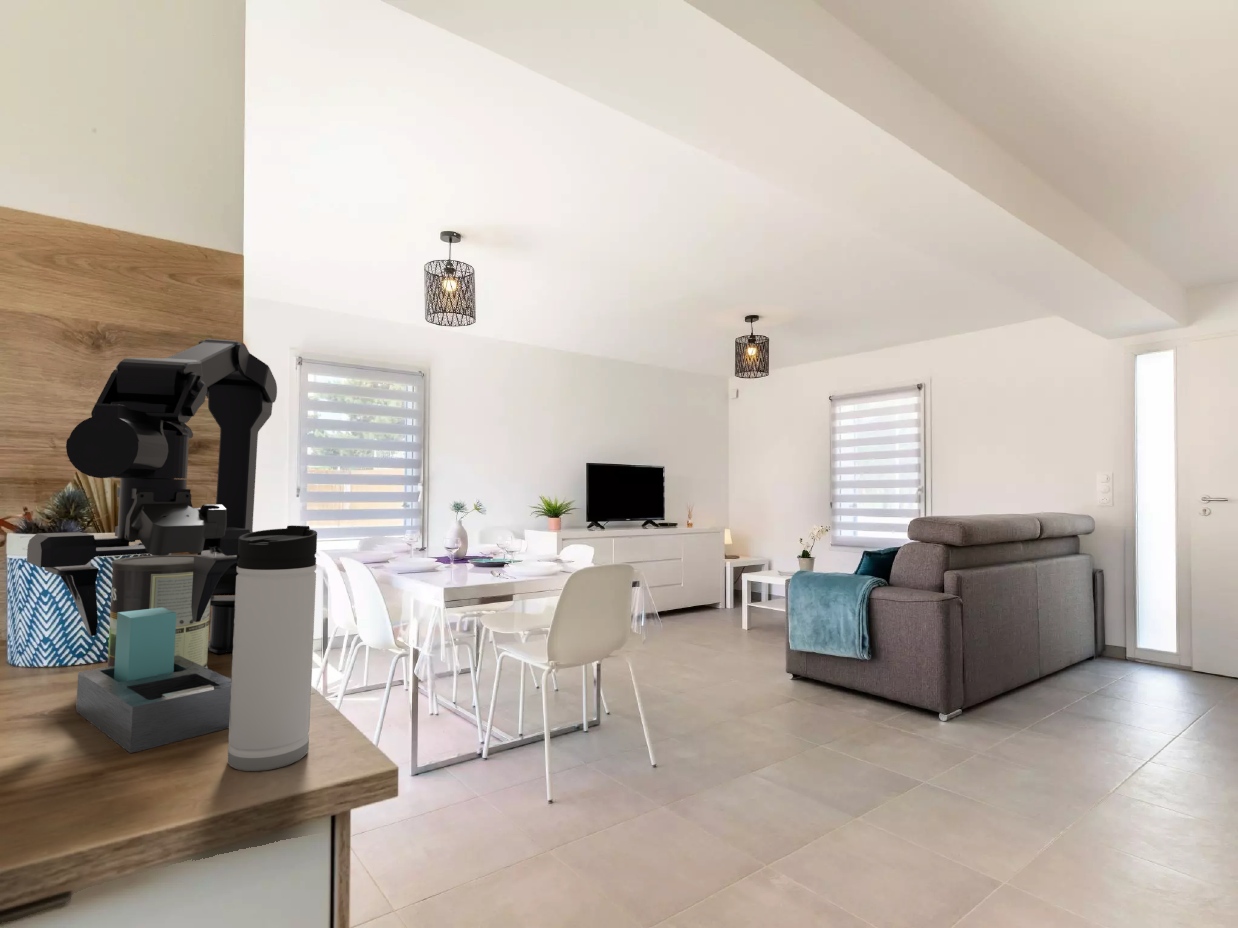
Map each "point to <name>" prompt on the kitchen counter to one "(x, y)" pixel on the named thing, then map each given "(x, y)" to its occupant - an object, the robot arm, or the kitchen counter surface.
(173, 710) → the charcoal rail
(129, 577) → the coffee can
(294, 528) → the travel mug
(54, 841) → the kitchen counter surface
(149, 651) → the teal peg
